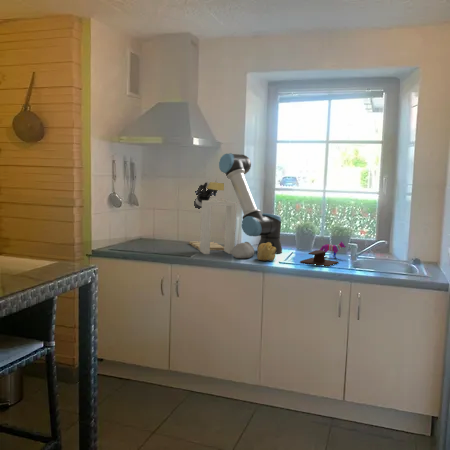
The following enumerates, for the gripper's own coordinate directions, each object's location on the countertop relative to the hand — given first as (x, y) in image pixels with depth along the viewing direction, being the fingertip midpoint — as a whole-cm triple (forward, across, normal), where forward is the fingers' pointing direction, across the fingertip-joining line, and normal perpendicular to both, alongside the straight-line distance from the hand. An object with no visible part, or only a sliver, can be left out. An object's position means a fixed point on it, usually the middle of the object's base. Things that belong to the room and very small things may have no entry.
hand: (213, 181), depth 286 cm
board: (-28, -1, -32) cm, 42 cm away
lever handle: (+22, -47, -60) cm, 80 cm away
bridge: (-10, -1, -42) cm, 43 cm away
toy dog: (+7, -64, -52) cm, 83 cm away
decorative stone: (+3, -11, -50) cm, 51 cm away
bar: (+1, 0, -6) cm, 6 cm away
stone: (+12, -21, -54) cm, 60 cm away
